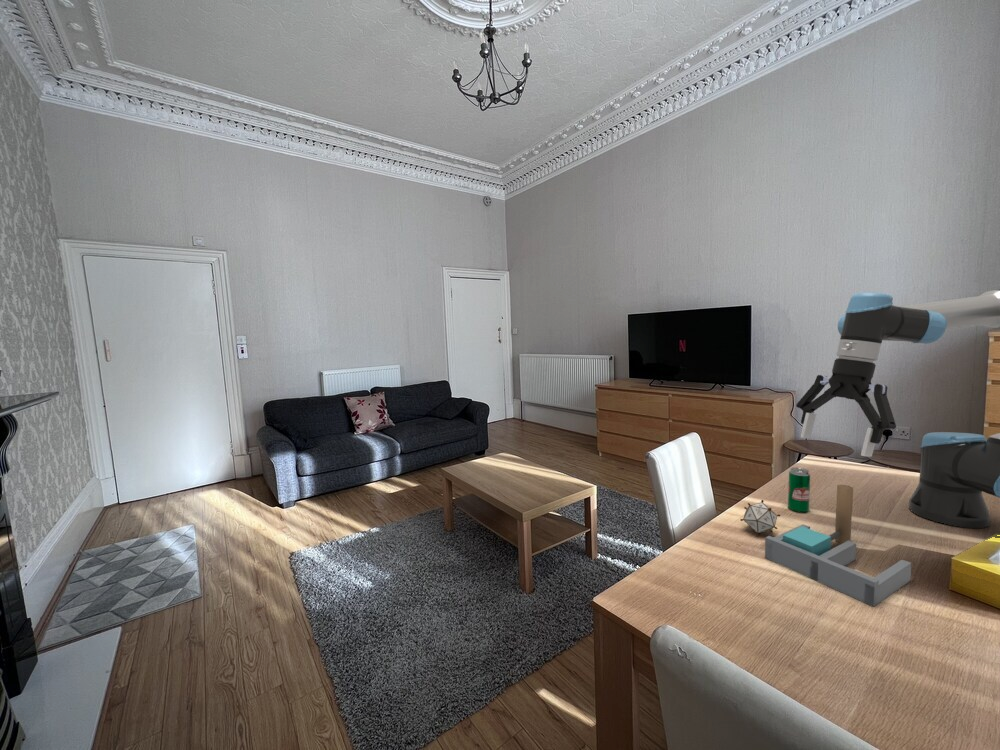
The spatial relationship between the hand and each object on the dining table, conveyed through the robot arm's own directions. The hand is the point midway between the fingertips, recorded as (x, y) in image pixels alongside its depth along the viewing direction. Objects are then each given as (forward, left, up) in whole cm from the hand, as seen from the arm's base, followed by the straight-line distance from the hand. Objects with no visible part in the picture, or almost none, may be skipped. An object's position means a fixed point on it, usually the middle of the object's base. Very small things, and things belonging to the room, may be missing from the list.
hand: (833, 446), depth 101 cm
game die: (+8, -12, -25) cm, 29 cm away
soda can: (-14, -14, -25) cm, 32 cm away
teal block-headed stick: (+6, +1, -25) cm, 25 cm away
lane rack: (+11, +6, -25) cm, 28 cm away
